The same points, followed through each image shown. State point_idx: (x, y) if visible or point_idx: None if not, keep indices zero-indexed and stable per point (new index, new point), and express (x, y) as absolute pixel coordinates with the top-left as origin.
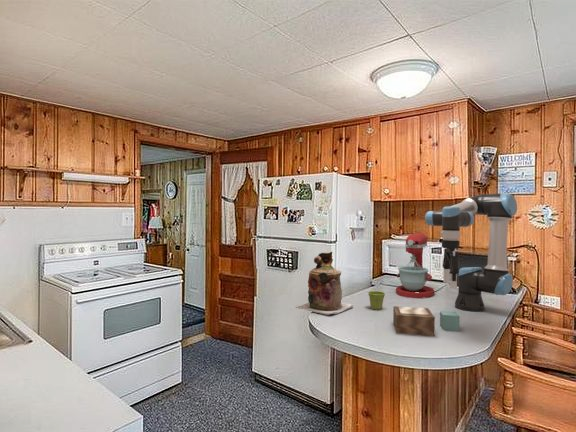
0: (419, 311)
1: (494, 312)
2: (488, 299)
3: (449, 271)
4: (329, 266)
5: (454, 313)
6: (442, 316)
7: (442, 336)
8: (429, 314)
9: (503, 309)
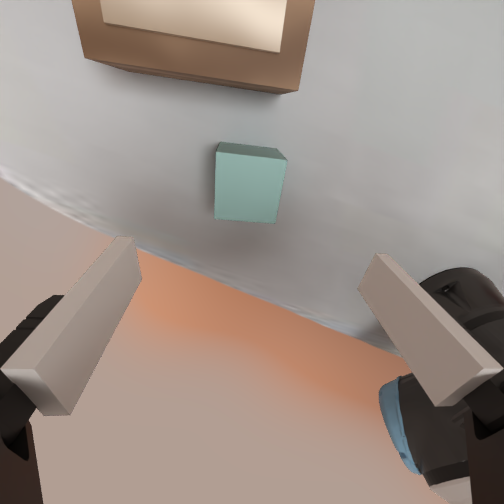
0: None
1: None
2: None
3: (419, 377)
4: None
5: (249, 211)
6: (231, 151)
7: (132, 109)
8: (146, 43)
9: None
